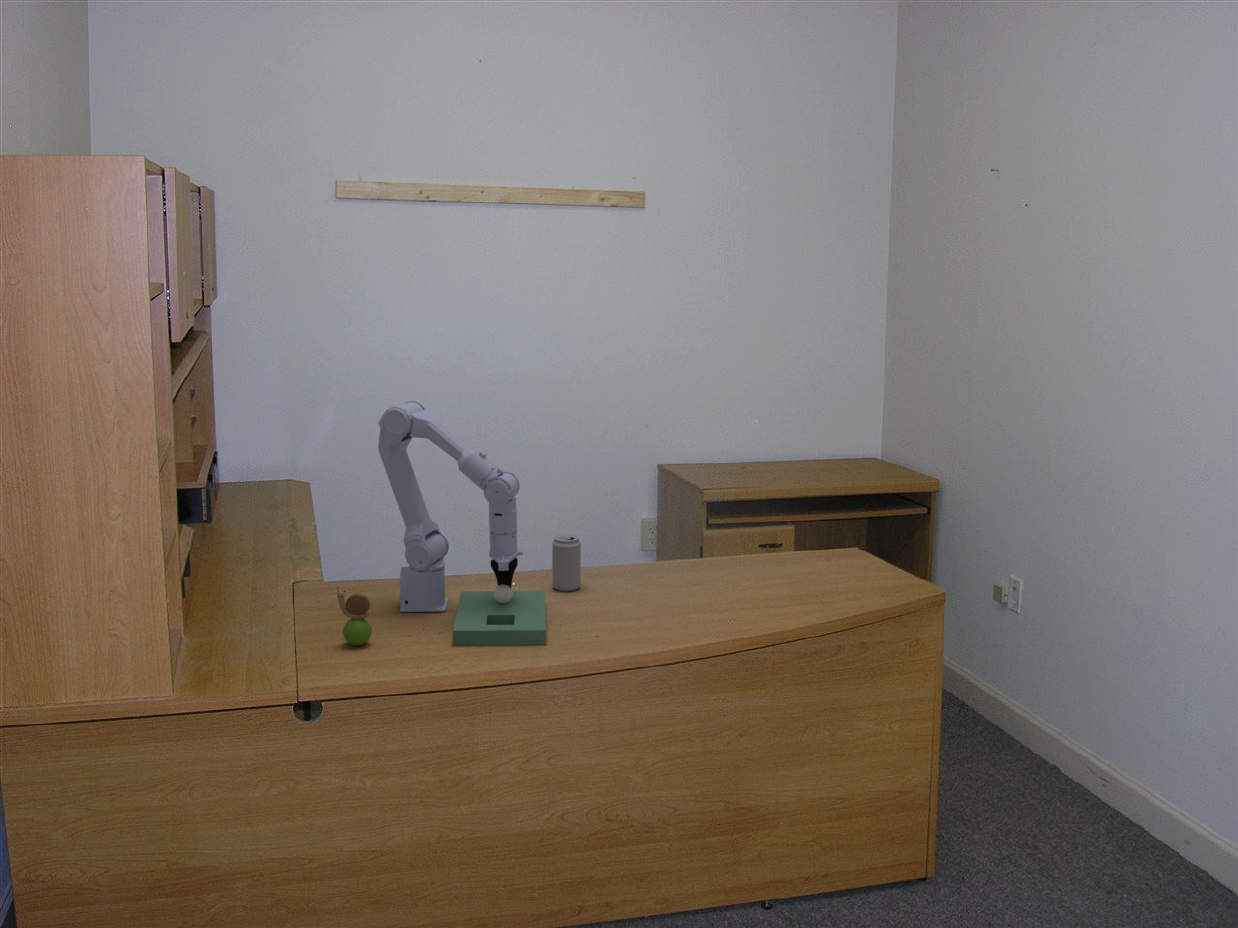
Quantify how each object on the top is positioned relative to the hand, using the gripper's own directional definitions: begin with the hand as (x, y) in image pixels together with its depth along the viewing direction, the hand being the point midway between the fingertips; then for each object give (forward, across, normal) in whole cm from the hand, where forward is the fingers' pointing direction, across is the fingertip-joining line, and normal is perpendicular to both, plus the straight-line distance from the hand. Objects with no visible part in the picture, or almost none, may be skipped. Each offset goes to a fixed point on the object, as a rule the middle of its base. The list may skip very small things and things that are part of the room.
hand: (505, 593), depth 231 cm
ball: (0, -2, 0) cm, 2 cm away
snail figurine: (+4, -17, +29) cm, 34 cm away
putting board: (+4, -6, +1) cm, 7 cm away
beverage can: (+5, +17, -13) cm, 22 cm away
